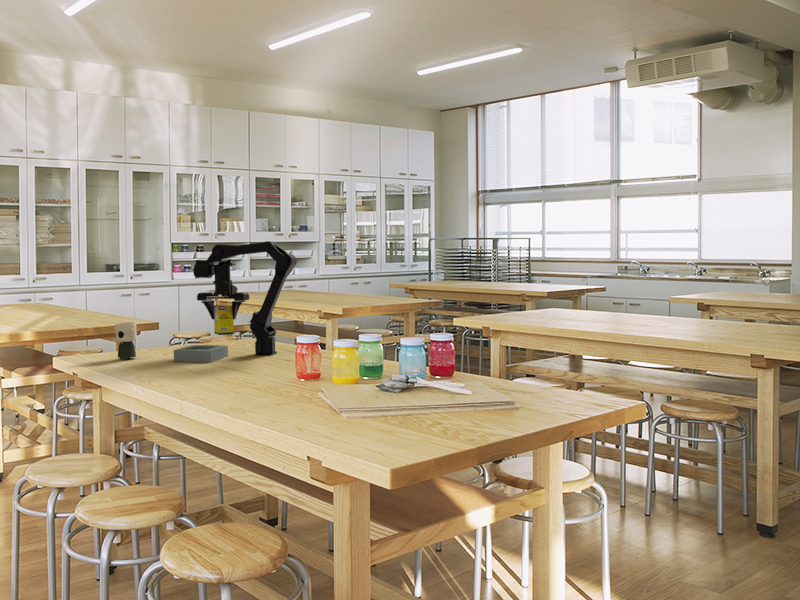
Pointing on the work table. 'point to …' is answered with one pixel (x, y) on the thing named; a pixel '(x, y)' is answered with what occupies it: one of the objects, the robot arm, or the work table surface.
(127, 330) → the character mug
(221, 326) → the supplement box
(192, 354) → the block
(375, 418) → the work table surface
